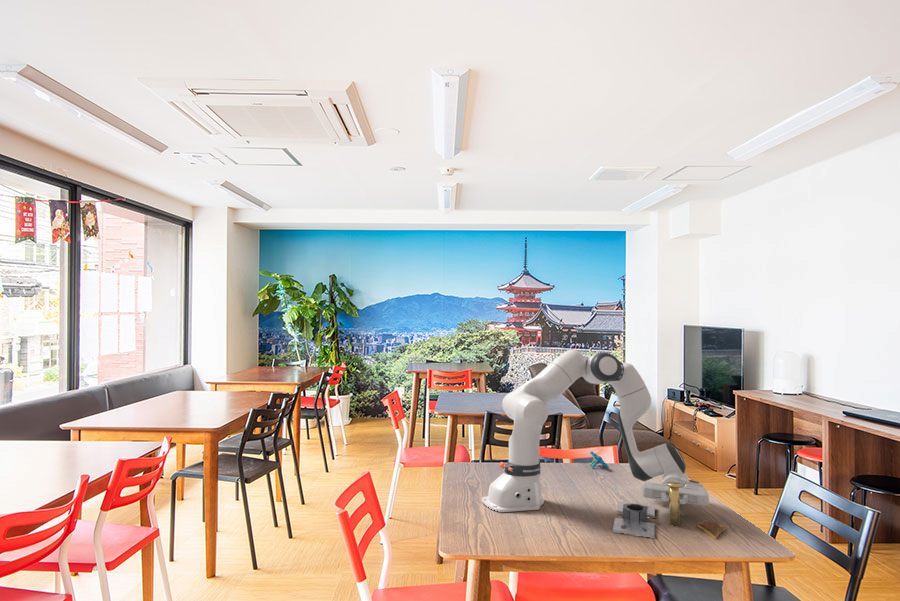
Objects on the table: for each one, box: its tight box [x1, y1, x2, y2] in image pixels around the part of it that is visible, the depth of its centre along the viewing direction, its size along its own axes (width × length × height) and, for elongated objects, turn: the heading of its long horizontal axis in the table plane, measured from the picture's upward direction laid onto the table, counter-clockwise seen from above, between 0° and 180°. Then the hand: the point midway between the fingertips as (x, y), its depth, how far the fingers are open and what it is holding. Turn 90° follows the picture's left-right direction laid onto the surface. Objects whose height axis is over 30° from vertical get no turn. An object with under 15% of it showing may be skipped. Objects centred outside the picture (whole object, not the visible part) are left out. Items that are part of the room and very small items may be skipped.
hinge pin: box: [667, 482, 681, 527], centre depth 163 cm, size 4×4×13 cm
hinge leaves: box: [612, 501, 656, 539], centre depth 167 cm, size 27×12×4 cm, turn 158°
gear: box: [589, 450, 610, 469], centre depth 228 cm, size 11×6×10 cm
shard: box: [696, 519, 726, 540], centre depth 158 cm, size 11×8×2 cm
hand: (674, 501), depth 162 cm, fingers closed on hinge pin, 3 cm apart
